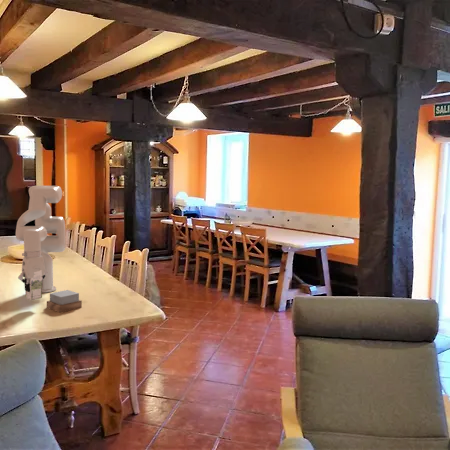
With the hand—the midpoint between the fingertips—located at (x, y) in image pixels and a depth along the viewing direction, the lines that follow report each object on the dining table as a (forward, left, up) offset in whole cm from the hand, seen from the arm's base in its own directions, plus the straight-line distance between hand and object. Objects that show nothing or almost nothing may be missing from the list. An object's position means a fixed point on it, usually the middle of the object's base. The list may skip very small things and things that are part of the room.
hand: (33, 289), depth 231 cm
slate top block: (+9, +11, -7) cm, 16 cm away
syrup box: (0, 0, -5) cm, 5 cm away
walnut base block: (+8, +11, -11) cm, 18 cm away
